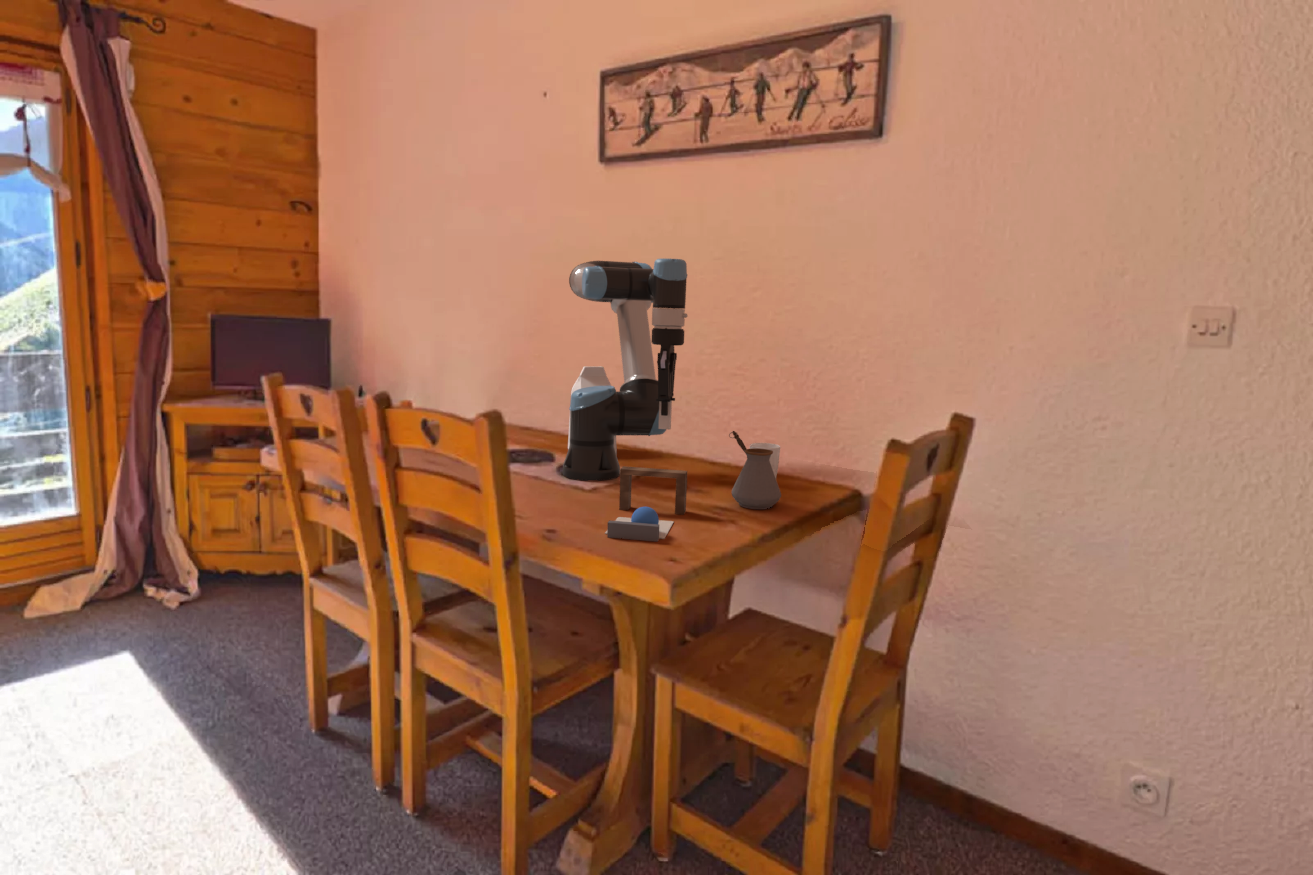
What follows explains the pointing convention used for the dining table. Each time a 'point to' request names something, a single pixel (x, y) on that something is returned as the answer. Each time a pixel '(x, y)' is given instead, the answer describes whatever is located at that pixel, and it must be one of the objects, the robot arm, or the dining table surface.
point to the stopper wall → (633, 530)
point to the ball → (645, 516)
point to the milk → (591, 385)
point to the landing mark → (663, 525)
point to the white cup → (774, 457)
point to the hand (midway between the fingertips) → (664, 428)
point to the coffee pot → (756, 479)
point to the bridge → (651, 472)
